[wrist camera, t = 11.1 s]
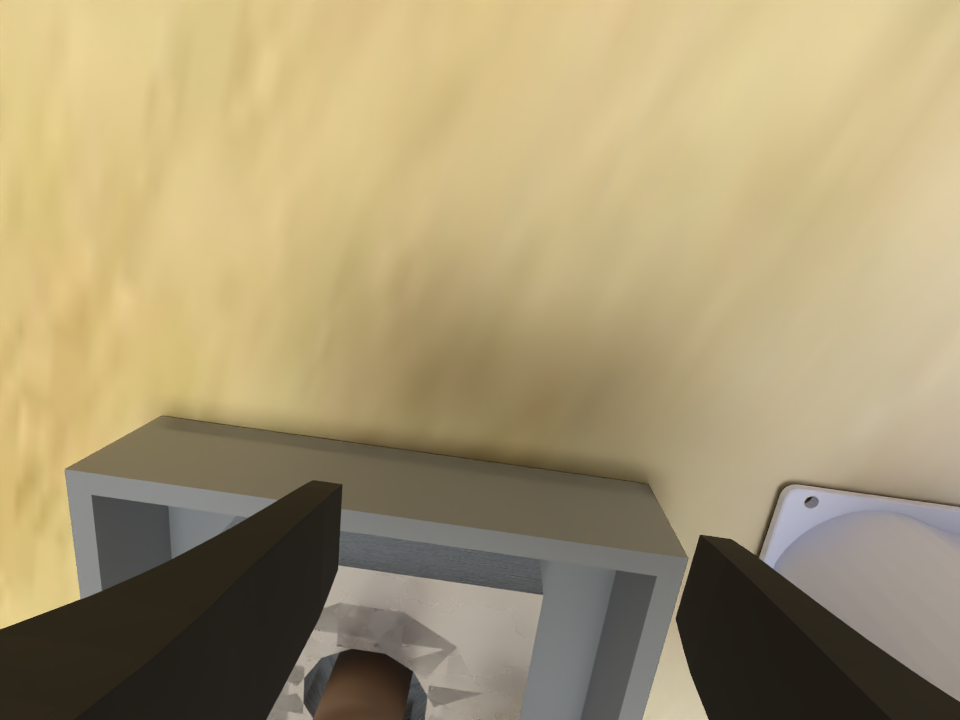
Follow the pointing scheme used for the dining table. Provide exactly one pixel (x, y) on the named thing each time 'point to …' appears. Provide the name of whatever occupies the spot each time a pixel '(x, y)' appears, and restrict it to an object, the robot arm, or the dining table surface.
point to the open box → (410, 536)
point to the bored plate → (426, 626)
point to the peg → (365, 688)
